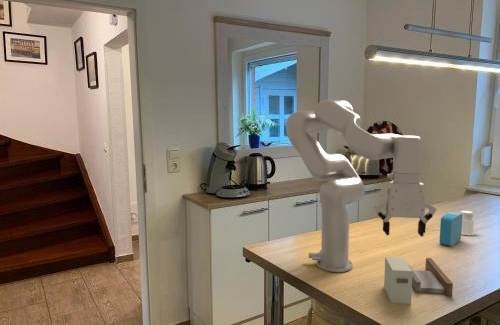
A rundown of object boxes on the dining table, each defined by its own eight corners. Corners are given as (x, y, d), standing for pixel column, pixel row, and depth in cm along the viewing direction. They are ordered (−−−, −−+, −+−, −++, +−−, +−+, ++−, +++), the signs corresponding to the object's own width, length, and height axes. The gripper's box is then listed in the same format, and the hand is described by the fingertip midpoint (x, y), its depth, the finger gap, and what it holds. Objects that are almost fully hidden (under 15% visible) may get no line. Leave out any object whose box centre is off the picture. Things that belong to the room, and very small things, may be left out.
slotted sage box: (391, 303, 110) (392, 270, 109) (384, 286, 121) (385, 256, 119) (411, 304, 110) (413, 271, 108) (402, 287, 120) (403, 257, 118)
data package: (449, 237, 165) (451, 210, 164) (461, 240, 162) (462, 212, 161) (439, 244, 157) (440, 216, 156) (450, 247, 154) (452, 218, 152)
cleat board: (417, 294, 115) (418, 281, 115) (401, 267, 135) (401, 256, 134) (452, 296, 114) (452, 283, 114) (430, 268, 134) (430, 257, 133)
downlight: (472, 237, 166) (474, 214, 165) (454, 234, 170) (456, 212, 169) (475, 233, 172) (477, 211, 171) (457, 230, 176) (459, 209, 175)
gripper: (378, 179, 109) (376, 237, 111) (442, 180, 106) (438, 239, 109) (373, 175, 116) (371, 229, 118) (433, 176, 114) (430, 231, 116)
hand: (403, 234), depth 113 cm, fingers open, 9 cm apart
